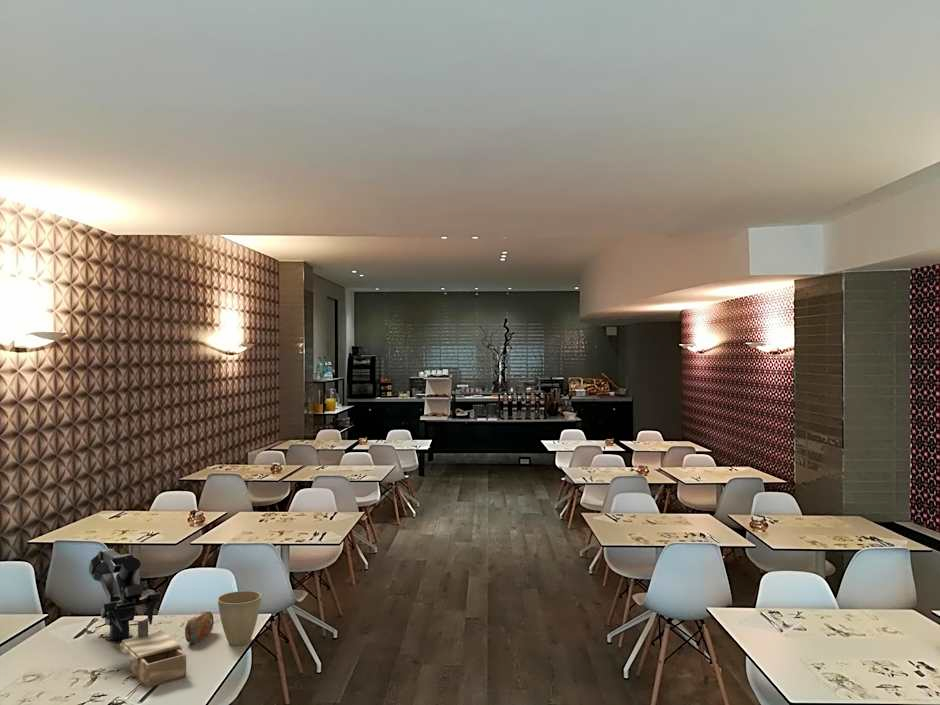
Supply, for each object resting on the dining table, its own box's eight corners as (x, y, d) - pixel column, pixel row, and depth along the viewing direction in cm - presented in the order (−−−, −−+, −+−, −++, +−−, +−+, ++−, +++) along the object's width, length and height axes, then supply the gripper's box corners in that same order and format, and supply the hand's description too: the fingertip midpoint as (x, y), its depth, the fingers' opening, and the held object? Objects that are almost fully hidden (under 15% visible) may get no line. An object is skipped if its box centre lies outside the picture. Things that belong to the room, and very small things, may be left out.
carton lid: (120, 649, 243) (120, 625, 243) (163, 638, 252) (163, 615, 252) (136, 665, 230) (136, 639, 230) (181, 653, 239) (181, 629, 239)
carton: (130, 671, 238) (130, 649, 238) (168, 661, 246) (168, 640, 246) (146, 688, 226) (146, 665, 226) (186, 677, 234) (186, 654, 234)
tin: (191, 646, 259) (191, 622, 259) (183, 646, 259) (183, 621, 259) (214, 631, 273) (214, 608, 274) (206, 630, 274) (206, 607, 274)
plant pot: (253, 650, 255) (253, 603, 255) (211, 649, 256) (211, 603, 256) (266, 634, 270) (266, 590, 270) (226, 634, 270) (226, 590, 271)
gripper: (103, 579, 249) (112, 621, 241) (160, 569, 262) (170, 608, 253) (96, 597, 255) (105, 638, 247) (152, 586, 268) (162, 625, 259)
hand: (137, 627), depth 251 cm, fingers open, 9 cm apart
